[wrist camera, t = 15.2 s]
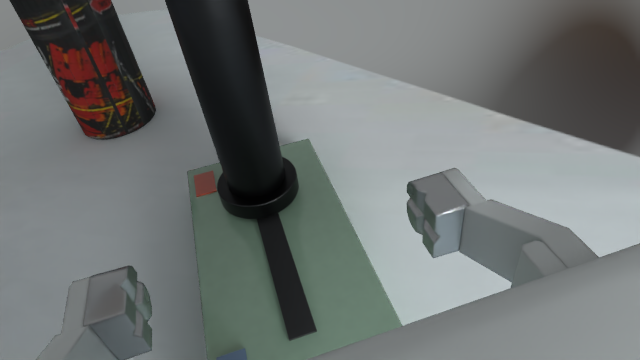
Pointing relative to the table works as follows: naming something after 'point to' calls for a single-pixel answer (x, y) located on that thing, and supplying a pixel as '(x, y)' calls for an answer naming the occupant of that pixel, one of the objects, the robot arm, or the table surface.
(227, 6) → the cylinder
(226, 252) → the base
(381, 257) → the table surface
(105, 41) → the deodorant
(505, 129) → the table surface
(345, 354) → the robot arm
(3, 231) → the table surface
